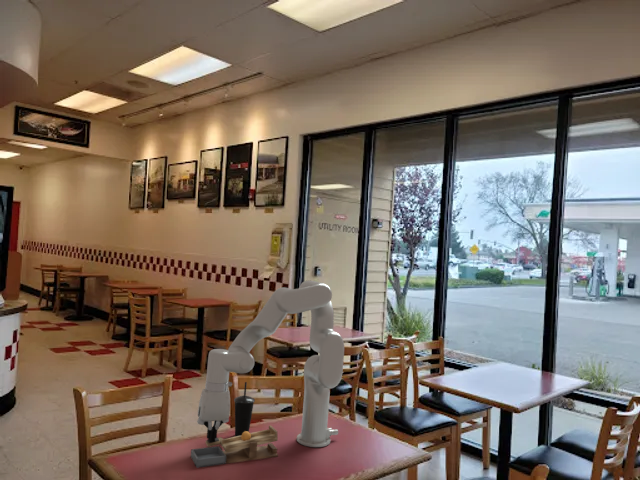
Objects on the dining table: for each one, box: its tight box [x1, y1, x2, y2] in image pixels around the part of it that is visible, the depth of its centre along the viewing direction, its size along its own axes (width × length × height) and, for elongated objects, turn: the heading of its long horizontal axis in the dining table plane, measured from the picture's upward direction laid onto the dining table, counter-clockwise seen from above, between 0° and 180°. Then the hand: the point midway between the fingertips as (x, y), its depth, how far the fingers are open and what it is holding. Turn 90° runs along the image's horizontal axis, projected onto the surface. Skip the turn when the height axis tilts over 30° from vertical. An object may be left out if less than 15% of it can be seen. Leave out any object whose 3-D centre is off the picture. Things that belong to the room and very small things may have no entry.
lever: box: [205, 424, 279, 453], centre depth 168 cm, size 22×10×3 cm, turn 117°
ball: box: [241, 431, 251, 441], centre depth 167 cm, size 3×3×3 cm
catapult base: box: [222, 442, 279, 464], centre depth 167 cm, size 18×8×6 cm, turn 117°
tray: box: [190, 445, 227, 469], centre depth 161 cm, size 9×8×2 cm
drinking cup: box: [233, 381, 256, 437], centre depth 184 cm, size 8×8×20 cm
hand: (211, 440), depth 167 cm, fingers closed
